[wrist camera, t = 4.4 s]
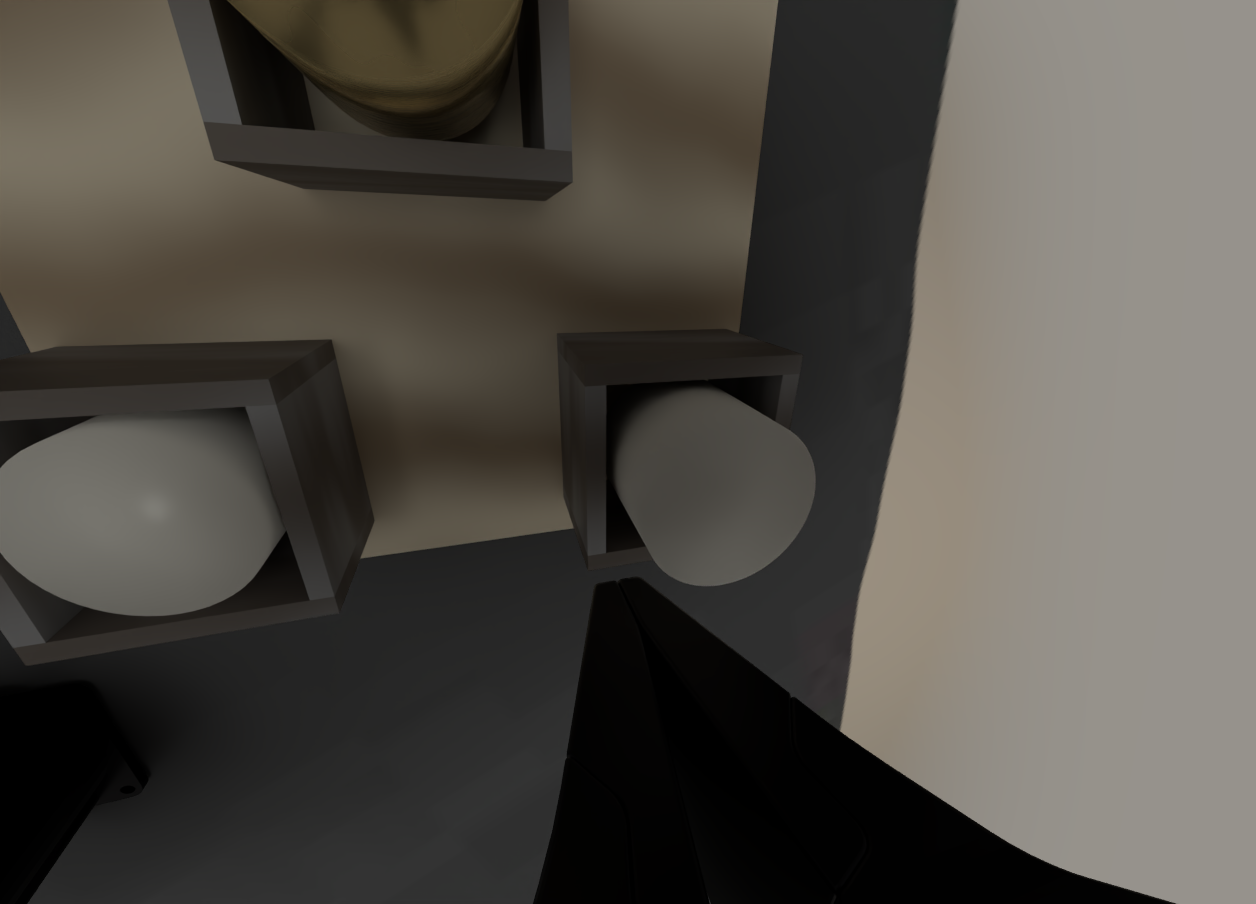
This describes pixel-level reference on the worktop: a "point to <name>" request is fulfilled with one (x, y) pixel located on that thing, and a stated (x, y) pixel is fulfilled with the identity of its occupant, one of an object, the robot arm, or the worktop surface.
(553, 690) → the worktop surface
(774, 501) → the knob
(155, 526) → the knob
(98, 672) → the worktop surface
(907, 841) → the robot arm
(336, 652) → the worktop surface
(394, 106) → the brass dial
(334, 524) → the mount
